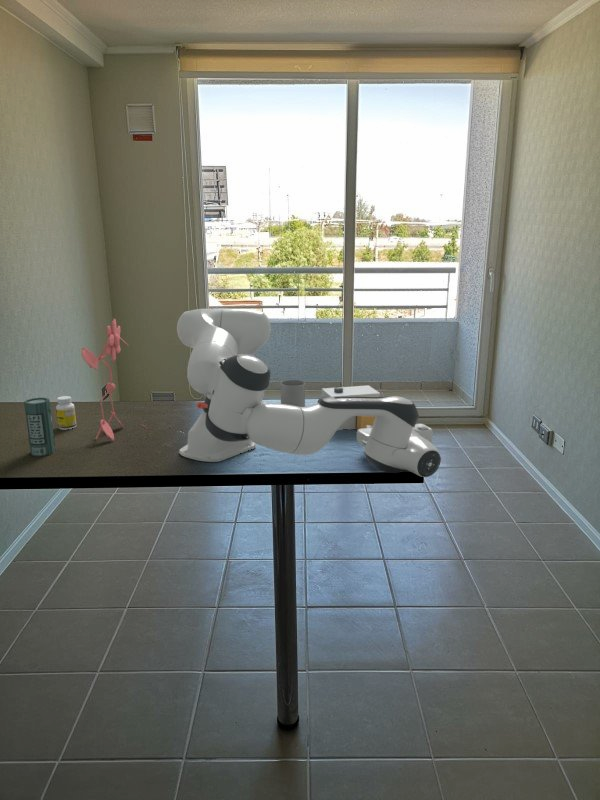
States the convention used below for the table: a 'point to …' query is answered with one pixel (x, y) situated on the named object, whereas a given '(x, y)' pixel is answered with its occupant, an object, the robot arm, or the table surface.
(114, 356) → the figurine
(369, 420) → the tan box with label
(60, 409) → the supplement bottle
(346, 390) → the camera housing
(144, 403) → the table surface
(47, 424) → the can
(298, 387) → the cup
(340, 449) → the table surface
